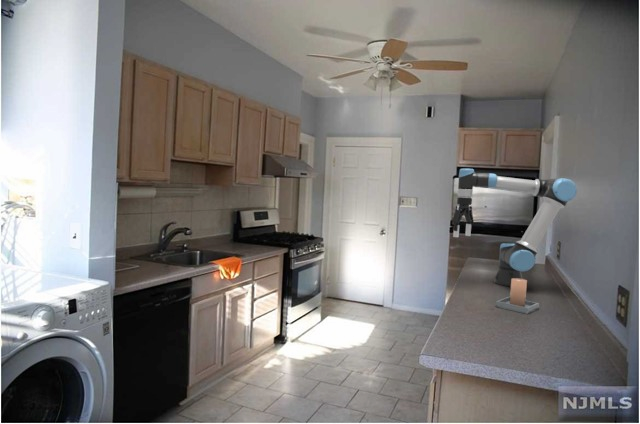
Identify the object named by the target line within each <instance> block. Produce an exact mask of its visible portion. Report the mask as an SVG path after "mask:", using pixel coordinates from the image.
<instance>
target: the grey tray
mask: <svg viewBox="0 0 640 424" xmlns="http://www.w3.org/2000/svg"><path fill="white" fill-rule="evenodd" d="M495 307H496V308H499V309H504V310H508V311H512V312H516V313H521V314H525V315H528V314H531V313H532V312H535V311H536V310H538V309H539V308H540V303H539V302H534V301H530V300H527V299H526V300H525V307H521V306H517V305H512V304H510V296H507V297H504V298H500V299H498V300H496V301H495Z"/></svg>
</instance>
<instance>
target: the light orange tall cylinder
mask: <svg viewBox="0 0 640 424" xmlns="http://www.w3.org/2000/svg"><path fill="white" fill-rule="evenodd" d="M527 283H528V280H527V279H524V278H522V279H519V278H512V279H511V286H510V291H509V292H510V293H509V297H510V304H512V305H517V306H521V307H525V300H526V301H527V299H526V298H527V296H526V295H527V285H528V284H527Z"/></svg>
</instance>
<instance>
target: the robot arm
mask: <svg viewBox="0 0 640 424" xmlns="http://www.w3.org/2000/svg"><path fill="white" fill-rule="evenodd" d="M457 186H458V187H457V200H456V204H457V205H456V206H455V211H454V214H453V217H452V220H451V225H453V234H452V235H453V236H452V237H453V238H459V236H460V235H459V234H460V222H461V220H462V218H463V216H464V217H465V220H466V221H465V222H466V224H465V235H464V236H467V237H471V236H472V235H471V234H472V233H471V232H472V225H474V223H475V222H474V215H473V206H472V202H473V192H474V191H473V189H474V188H482V189H490V190H497V191H505V192H506V191H507V192H516V193H523V194H530V195H532V196H533V197H539V198H542V199H543V202H542V203H541V205H540V207H539V208H538V210H537V212H536V214H535V215H534V217H533V219H532V220H531V222H530V223H529V225H528V227H527V229H526V230H525V232H524V234H523V235H522V237H521V239H520V240H517V241H515V243H500V245H499V246H500V247H499V256H498V257H499V258H498V259H499V261H498V270H497V271H496V274H495V276H494V279H493V281H494V283H495V284H496V285H500V286H506V287H511V279H512V278H519V279H523V276H522V272H527V271H529V270H531V269H533V268H534V266H535V263H536V258H535V257H536V256H537V254H538V250H537V247H538V246H539V245H540V242H541V241H542V239H543V238H544V236H545V234H546V233H547V231H548V229H549V228H550V226H551V224H552V223H553V220H554V219H555V217H556V216H557V214H558V213H559V210H561V209H564V208H565V207H566V206H567V203H568V202H569V201H571V200H573V199H574V198H575V197H576V195H577V192H578V187H577V186H576V183H575V182H574V181H573V180H571V179H569V178H564V177H563V178H562V177H561V178H548V179H545V178H544V179H539V178H536V179H535V180H532V179H526V178H525V179H524V178H515V177H509V176H508V177H507V176H500V175H497V174H496V173H491V172H490V173H489V172H487V173H486V172H475V169H473V168H460V169H459V172H458V185H457Z"/></svg>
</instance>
